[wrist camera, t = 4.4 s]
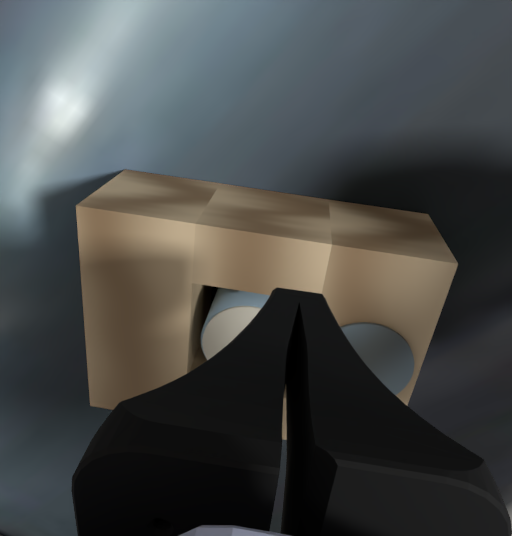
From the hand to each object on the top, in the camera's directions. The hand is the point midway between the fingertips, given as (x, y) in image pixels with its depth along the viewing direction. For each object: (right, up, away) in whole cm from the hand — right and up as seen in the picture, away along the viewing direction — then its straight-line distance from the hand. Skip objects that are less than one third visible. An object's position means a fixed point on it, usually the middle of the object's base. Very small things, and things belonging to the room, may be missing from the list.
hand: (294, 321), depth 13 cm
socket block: (-1, +1, +11) cm, 11 cm away
